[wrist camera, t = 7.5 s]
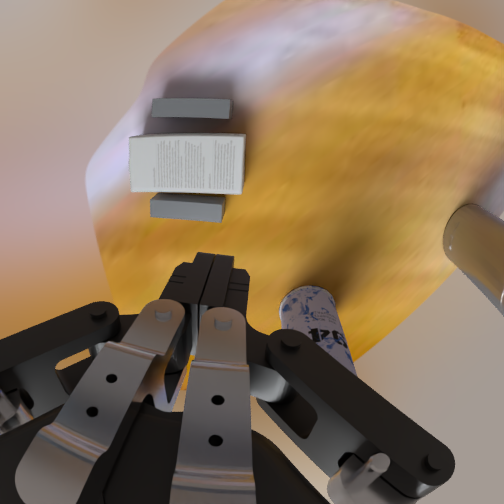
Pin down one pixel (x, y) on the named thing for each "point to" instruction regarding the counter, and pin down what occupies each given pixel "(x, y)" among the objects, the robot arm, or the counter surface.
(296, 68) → the counter surface
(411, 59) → the counter surface
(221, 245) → the counter surface
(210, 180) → the skincare box
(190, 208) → the charcoal cradle
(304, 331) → the aerosol can
